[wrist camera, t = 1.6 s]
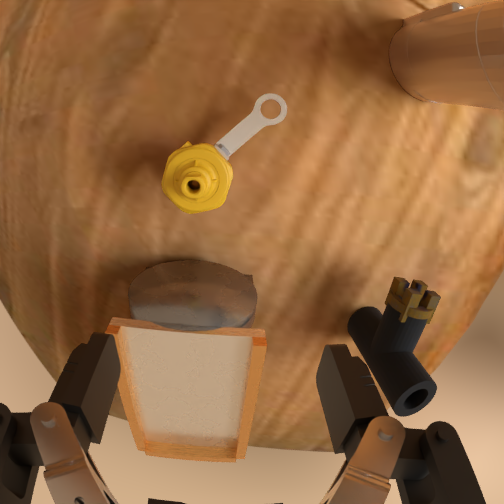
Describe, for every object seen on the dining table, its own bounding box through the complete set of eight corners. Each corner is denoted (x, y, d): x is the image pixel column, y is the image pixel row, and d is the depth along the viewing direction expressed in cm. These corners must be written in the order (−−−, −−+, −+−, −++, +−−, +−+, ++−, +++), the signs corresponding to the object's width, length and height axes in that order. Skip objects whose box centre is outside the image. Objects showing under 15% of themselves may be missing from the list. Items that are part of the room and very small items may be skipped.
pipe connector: (369, 257, 37) (437, 322, 23) (403, 263, 37) (474, 323, 23) (341, 337, 40) (384, 418, 26) (374, 339, 41) (423, 413, 27)
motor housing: (145, 251, 34) (103, 336, 21) (254, 259, 35) (267, 350, 22) (155, 367, 41) (137, 453, 28) (239, 373, 43) (244, 462, 30)
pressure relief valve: (167, 160, 30) (140, 184, 21) (259, 79, 27) (272, 64, 18) (205, 199, 32) (194, 238, 23) (296, 121, 29) (325, 127, 20)
